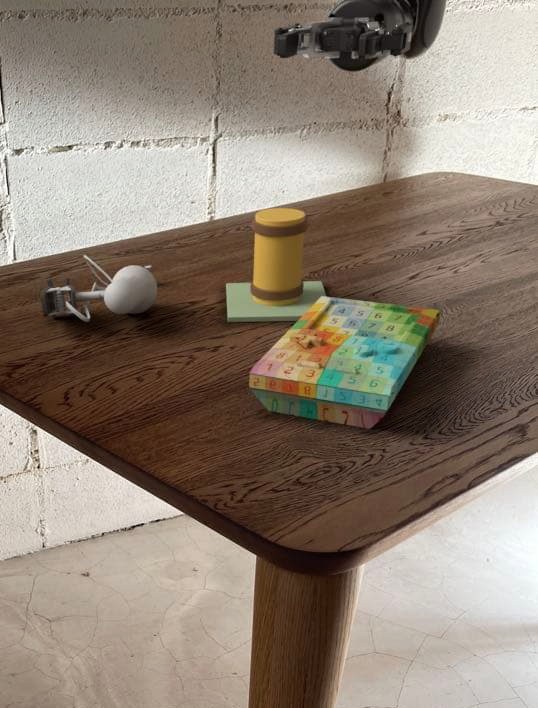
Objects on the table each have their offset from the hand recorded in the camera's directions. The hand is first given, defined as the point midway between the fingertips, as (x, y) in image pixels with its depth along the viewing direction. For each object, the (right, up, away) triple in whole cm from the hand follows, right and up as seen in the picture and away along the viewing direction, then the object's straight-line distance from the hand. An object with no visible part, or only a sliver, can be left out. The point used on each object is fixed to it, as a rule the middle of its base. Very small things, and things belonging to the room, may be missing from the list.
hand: (321, 47), depth 91 cm
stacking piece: (-4, -24, +6) cm, 25 cm away
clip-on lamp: (-23, -26, +7) cm, 35 cm away
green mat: (-4, -25, +6) cm, 26 cm away
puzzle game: (0, -37, -11) cm, 38 cm away
